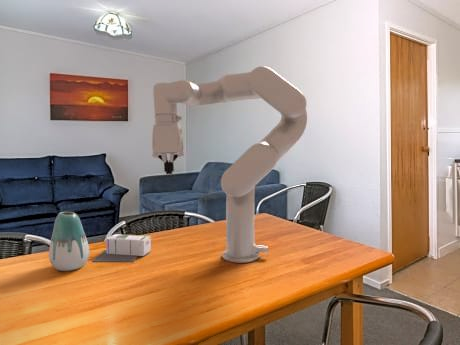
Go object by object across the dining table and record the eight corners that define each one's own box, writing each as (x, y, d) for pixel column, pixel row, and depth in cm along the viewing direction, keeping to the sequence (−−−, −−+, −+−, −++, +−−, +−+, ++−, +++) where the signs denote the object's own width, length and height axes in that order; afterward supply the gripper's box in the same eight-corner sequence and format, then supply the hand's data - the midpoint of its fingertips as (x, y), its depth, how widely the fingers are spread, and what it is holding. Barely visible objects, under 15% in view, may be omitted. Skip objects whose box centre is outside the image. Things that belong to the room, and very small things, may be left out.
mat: (142, 250, 123) (142, 249, 123) (134, 261, 112) (133, 260, 112) (104, 250, 123) (104, 249, 123) (92, 261, 113) (92, 260, 112)
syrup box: (143, 240, 115) (105, 237, 119) (143, 257, 116) (105, 253, 119) (150, 235, 121) (114, 233, 124) (151, 251, 122) (114, 248, 125)
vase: (97, 262, 112) (95, 209, 110) (70, 276, 101) (67, 217, 99) (70, 259, 115) (66, 207, 113) (41, 271, 104) (37, 215, 103)
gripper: (189, 120, 119) (192, 171, 121) (147, 121, 119) (150, 173, 121) (186, 118, 111) (189, 174, 113) (141, 120, 112) (145, 175, 113)
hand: (169, 173), depth 117 cm, fingers closed
